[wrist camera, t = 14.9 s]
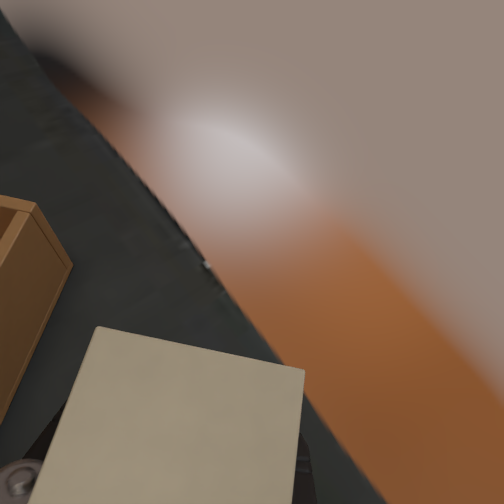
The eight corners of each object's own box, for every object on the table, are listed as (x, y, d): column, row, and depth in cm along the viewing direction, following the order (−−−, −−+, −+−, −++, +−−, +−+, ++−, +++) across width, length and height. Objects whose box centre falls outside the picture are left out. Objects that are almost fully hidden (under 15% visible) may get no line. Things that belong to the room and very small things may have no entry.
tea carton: (221, 578, 14) (268, 762, 5) (97, 554, 14) (-58, 706, 5) (248, 415, 17) (308, 367, 8) (144, 394, 17) (94, 322, 8)
